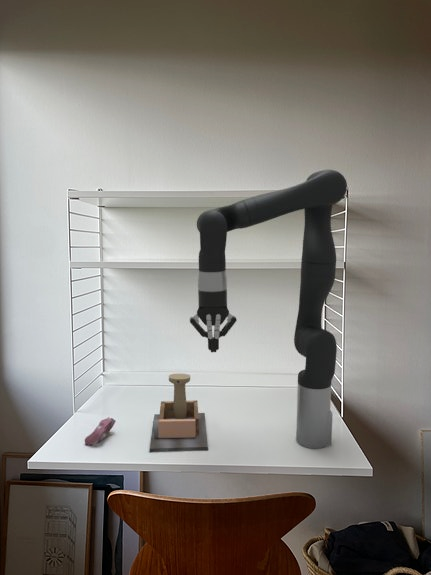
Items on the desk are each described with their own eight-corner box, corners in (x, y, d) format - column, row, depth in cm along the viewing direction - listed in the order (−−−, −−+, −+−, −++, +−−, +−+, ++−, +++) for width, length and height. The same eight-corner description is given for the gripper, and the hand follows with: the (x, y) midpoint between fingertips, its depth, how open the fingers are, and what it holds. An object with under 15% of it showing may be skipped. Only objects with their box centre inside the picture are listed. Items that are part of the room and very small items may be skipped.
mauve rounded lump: (95, 452, 134) (104, 432, 132) (82, 443, 135) (91, 423, 133) (111, 436, 144) (120, 417, 142) (99, 428, 144) (107, 409, 142)
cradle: (204, 415, 154) (204, 398, 153) (208, 450, 132) (207, 429, 131) (154, 417, 153) (153, 399, 152) (149, 452, 131) (149, 431, 130)
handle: (171, 419, 149) (170, 373, 146) (191, 420, 148) (191, 373, 145) (168, 426, 144) (167, 378, 141) (189, 427, 143) (188, 379, 141)
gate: (195, 435, 138) (195, 418, 137) (195, 437, 136) (195, 421, 135) (154, 435, 138) (154, 419, 137) (153, 438, 136) (153, 421, 135)
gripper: (187, 291, 121) (189, 356, 124) (239, 289, 122) (239, 354, 125) (187, 286, 129) (188, 348, 132) (236, 284, 129) (236, 346, 132)
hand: (213, 351), depth 128 cm, fingers closed
